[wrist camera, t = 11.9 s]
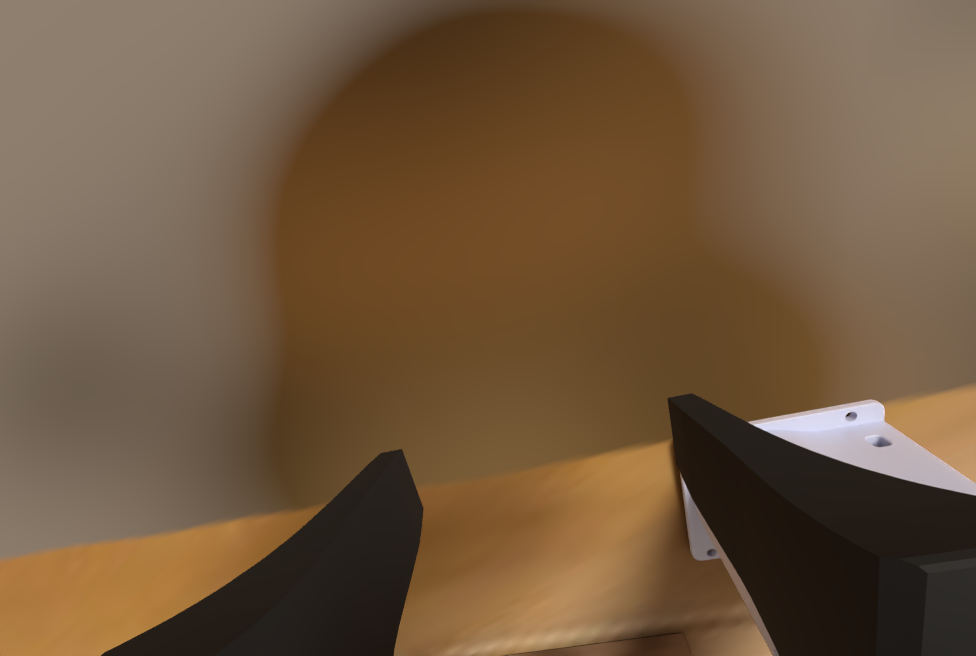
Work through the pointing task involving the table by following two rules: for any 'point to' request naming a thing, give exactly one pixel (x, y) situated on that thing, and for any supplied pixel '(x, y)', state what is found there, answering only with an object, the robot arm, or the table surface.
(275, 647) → the robot arm
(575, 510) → the table surface
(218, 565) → the table surface
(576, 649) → the pin board
